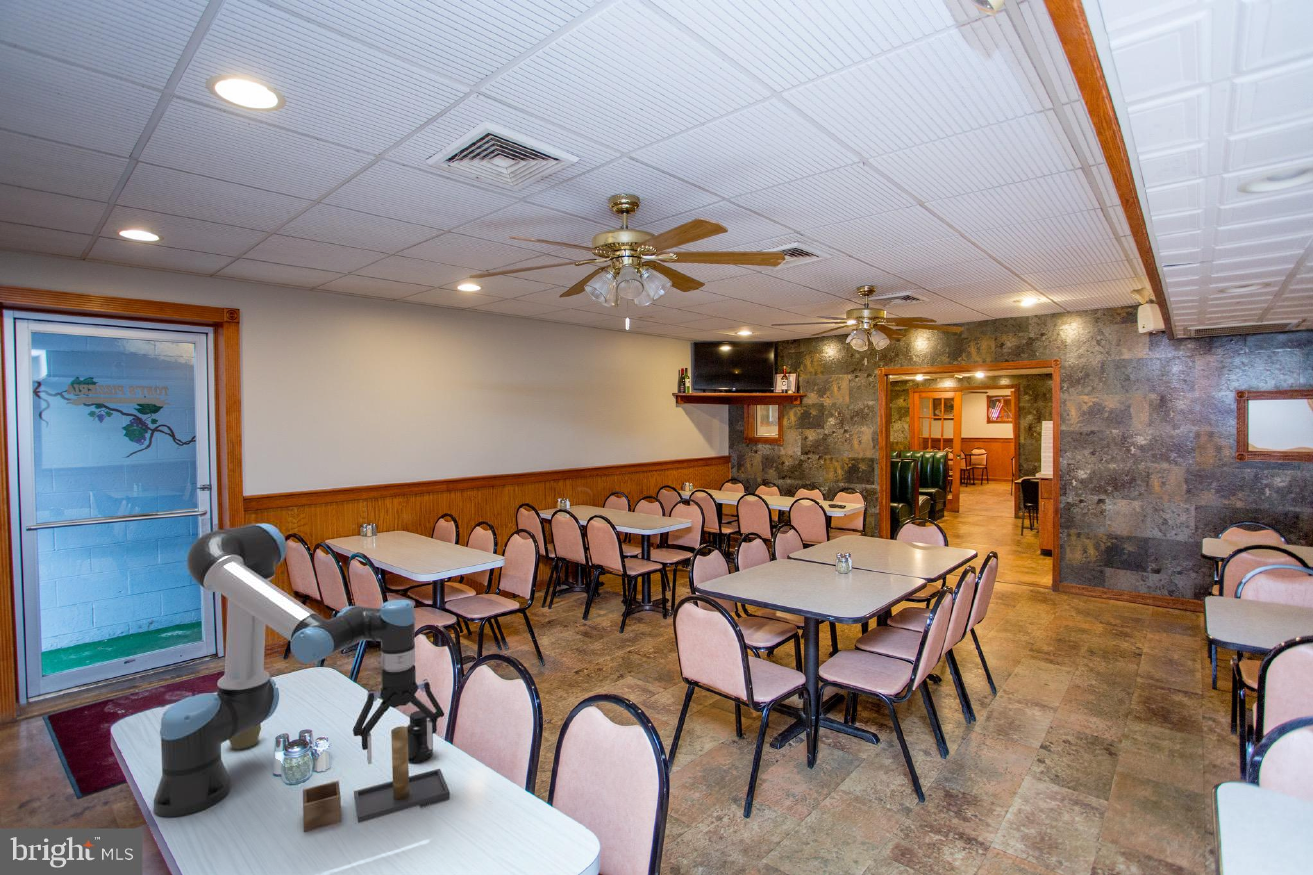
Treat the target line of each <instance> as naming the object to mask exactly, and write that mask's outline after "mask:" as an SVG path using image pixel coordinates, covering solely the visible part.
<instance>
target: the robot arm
mask: <svg viewBox="0 0 1313 875" xmlns="http://www.w3.org/2000/svg"><path fill="white" fill-rule="evenodd" d="M287 550H288V549H287V542H286V538H285V537H284V535H283V534H282V532H280V529H278V528H277V527H275V526H274V525H272V524H270V523H250V524H247V525H242V526H241V525H240V526H236V527H235V526H234V527H230V528H226V529H218V530H213V531H210V532H207V533H205V534H203V535H201V536H200V537H199V538H198V539H197V540H195V541H194V543H193V544H192V545H191V547H190V548H189V551H188V553H187V557H186V566H187V569H188V573H189V574H190V576H191V577H192V578H193V580H194V581H195V582H196V583H197V584H199V586H201V587H202V588H204V589H205V590H206V591H208V592H210V593H216V592H217V593H220V594H221V595H222V596H224V597H225V598H227V614H226V616H227V618H226V619H227V620H226V639H225V660H224V662H225V663H224V664H225V665H224V675H223V676H221V677H220V678H219V679H218V680H217V682H216V683H217V686H216V693H212V692H204V693H198V694H195V695H194V696H188V697H186V698H182V699H181V700H179V701H177V702H175V703H173V704H171V706H169V707H168V708H167V709H166V710H165V711H164V713H163V714H162V717H161V718H160V730H159V736H160V742H161V744H160V745H161V746H160V748H161V750H160V751H161V773H162V774H161V777H160V780H159V783H158V787H157V788H156V791H155V795H154V797H153V812H154V814H156V815H157V816H159V817H163V818H164V817H165V818H171V817H172V818H174V817H182V816H183V817H184V816H186V815H192V814H193V813H198V812H200V811H203V810H205V809H208V808H210V807H212V806H214V805H215V804H217V803H218V802H220V801H222V800H223V799H225V797H227V795H229V793H230V791H231V777H230V775H229V772H228V770H227V768H226V766H225V764H224V762H223V760H222V744H223V743H225V742H227V741H229V739H231V738H233V737H235V736H237V735H239V734H240V733H242V732H244V731H246V730H248V729H250V728H253V727H256V726H258V725H259V724H263V722H265V721H267V720H268V719H270V718H271V717H272V716H273V715H274V713H275V712H276V710H277V708H278V706H279V702H280V691H279V687H276V686H277V683H276V681H275V679H273V678H272V677H271V676H270V673H269V672H267V671H266V670H265V669H264V664H265V663H264V662H265V649H266V648H265V645H266V644H265V642H266V641H265V640H266V627H267V626H268V627H269V628H271V629H272V630H274V631H275V632H277V633H278V634H279V635H281V636H282V637H284V638H285V639H287V640H288V641H290V652H291V654H293V655H294V658H295V660H296V661H298V662H299V663H302V664H311V663H314V662H317V661H320V660H324V659H326V658H328V657H330V656H331V655H334V654H336V653H337V652H339V651H342V650H344V649H347V648H349V647H352V646H354V645H356V644H358V643H360V642H362V641H371V642H372V641H374V642H376V641H377V642H380V648H381V650H380V651H381V668H382V670H381V689H380V690H376V691H373V690H372V689H370V690H368V691H367V697H366V701H365V703H364V705H363V707H362V709H361V712H360V714H359V716H358V718H357V720H356V722H355V724H354V726H353V728H352V732H353V733H352V734H353V736H354V737H361V749H362V750H363V751H366V761H367V764H368V766H369V765H372V763H373V762H372V760H373V759H372V758H373V756H372V754H373V753H372V752H373V751H372V734H371V732H372V730H373V728H374V727H375V726H376V725H377V724H378V723H379V721H380V720H381V719H382V717H383V716H384V714H385V713H386V712H388V710H389V709H390V708H393V709H395V708H398V707H400V706H402V707H404V706H407V705H409V704H412V705H413V706H414V707H416V709H418V711H419V710H420V711H421V712H423V713H424V714H425V715H426V716H427V717H428V719H427V745H428V748H429V750H430V749H433V750H434V747H433V748H432V734H433V735H434V734H436V733H437V722H438V719H439V718H443V717H444V716H445V712H444V710H443V708H442V707H441V705H440V704H439V702H438V700H437V699H436V697H435V695H434V694H433V692H432V690H431V684H430V682H429V680H428V679H424V680H423V681H422V682H419V683H417V680H416V678H417V677H416V676H417V675H416V672H417V670H416V669H417V668H416V665H415V664H416V644H415V643H416V642H415V634H416V633H415V632H416V631H415V630H416V628H415V627H416V617H415V608H414V606H415V605H414V603H413V602H412V601H411V600H407V599H392V600H388V601H386V602H384V603H382V604H381V606H380V608H377V607H369V606H360V605H356V606H355V605H354V606H352V605H351V606H350V605H349V606H346V607H343V608H342V609H341V610H340V611H339V612H338V613H337V615H336V616H335V617H333V618H330V619H326V618H324V617H323V616H321V615H319V614H318V613H317V612H315V611H313V609H311V608H309V607H308V606H306V605H304V604H303V603H302V602H300V601H298V600H297V599H295V598H294V597H292V596H291V595H289V594H288V593H286V592H285V591H283V590H282V589H280V588H279V587H278V586H276V585H275V584H273V583H272V582H270V581H271V580H272V579H273V578H274V577H275V575H276V566H277V565H279V564H280V563H282V562H283V560H284V559H285V557H286V554H287ZM418 690H420V691H421V692H423V693H424V692H425V694H426V697H427V699H428V700H429V701H430V703H431V705H432V707H434V710H435V712H434V711H433V710H432V709H431V708H429V707H428V706H427V705H426V704H425V703H423V702H422V701H421V700H420V699H419V698H418V697H417V696H416V693H417V692H418ZM379 697H380V698H381V699H382V701H381V702H380V705H379V706H378V708H376V710H375V712H374V713H373V714H372V715H371V716H370V718H369V719H368V717H369V714H370V713H371V711H372V708H373V706H374V703H375V702H376V701H378V698H379ZM367 719H368V720H367ZM366 720H367V721H366Z"/></svg>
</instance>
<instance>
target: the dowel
mask: <svg viewBox="0 0 1313 875" xmlns="http://www.w3.org/2000/svg"><path fill="white" fill-rule="evenodd" d="M390 732H391V735H390V736H391V738H390V739H391V765H392V766H391V767H392V781H393V798H394V799H395V800H402V799H405V798H407V797H408V796H409V776H410V775H409V774H410V773H409V772H410V771H409V770H410V769H409V767H410V766H409V761H408V733H407V726H406V725H405V726H404V725H403V726H402V725H400V726H397V727H394V728H392V729H391V731H390Z"/></svg>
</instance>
